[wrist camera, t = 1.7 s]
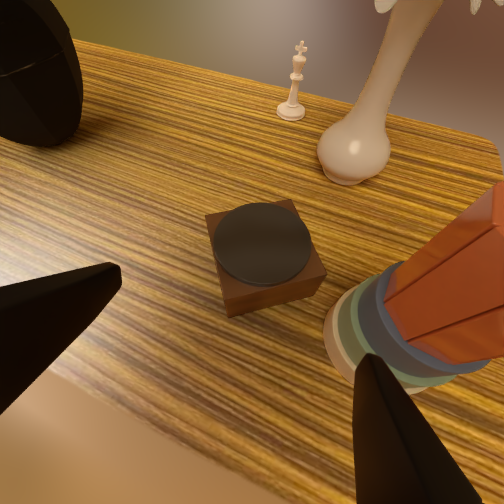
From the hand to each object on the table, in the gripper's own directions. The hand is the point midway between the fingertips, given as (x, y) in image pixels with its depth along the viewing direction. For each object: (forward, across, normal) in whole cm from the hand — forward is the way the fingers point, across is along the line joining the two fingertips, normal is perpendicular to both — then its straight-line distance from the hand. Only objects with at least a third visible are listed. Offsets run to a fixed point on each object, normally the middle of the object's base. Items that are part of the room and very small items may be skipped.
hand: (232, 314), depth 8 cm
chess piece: (+43, +6, -6) cm, 44 cm away
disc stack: (+13, -11, +10) cm, 20 cm away
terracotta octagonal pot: (+8, -11, +2) cm, 14 cm away
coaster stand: (+16, +1, +8) cm, 18 cm away
